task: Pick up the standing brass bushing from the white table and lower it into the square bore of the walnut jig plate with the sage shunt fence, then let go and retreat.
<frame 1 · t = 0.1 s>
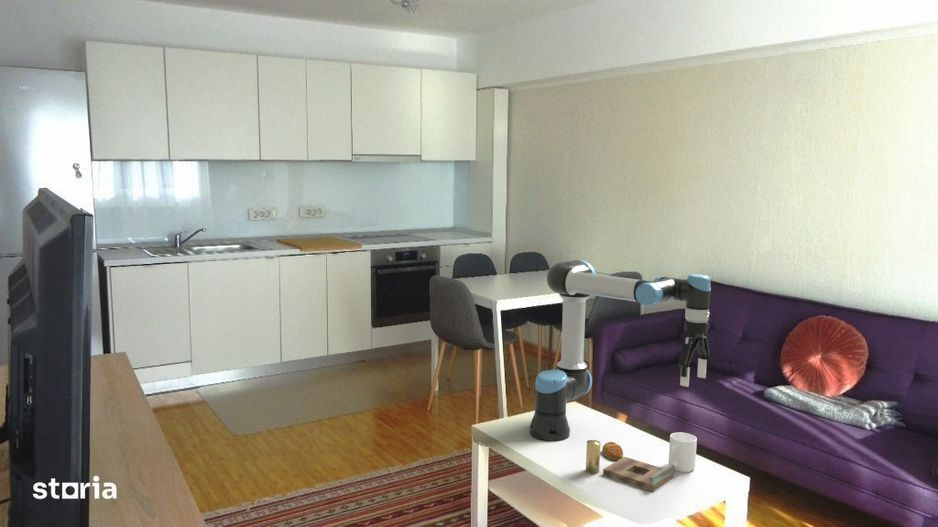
hand: (693, 381, 243), 28 cm above the table, fingers open, 13 cm apart
jig: (638, 476, 233), on the table
pastry: (613, 456, 250), on the table
bushing: (592, 471, 236), on the table
mug: (678, 469, 239), on the table
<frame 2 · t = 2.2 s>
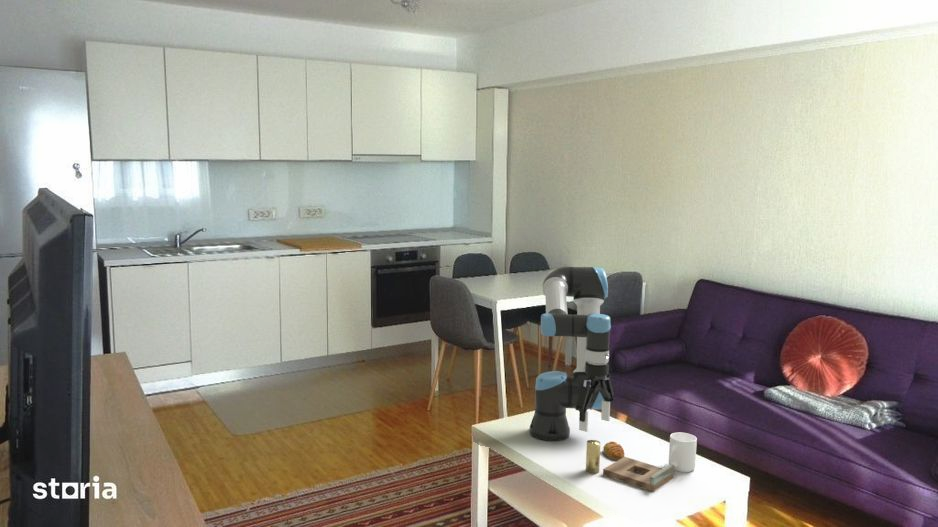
hand: (594, 425, 234), 16 cm above the table, fingers open, 13 cm apart
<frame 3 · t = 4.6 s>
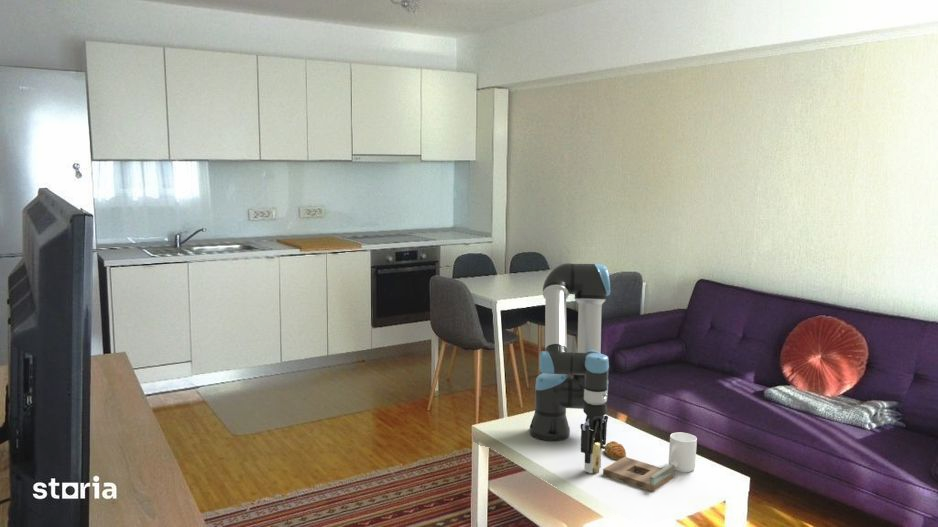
hand: (592, 469, 236), 1 cm above the table, fingers closed on bushing, 4 cm apart
bushing: (592, 471, 236), on the table, touching gripper
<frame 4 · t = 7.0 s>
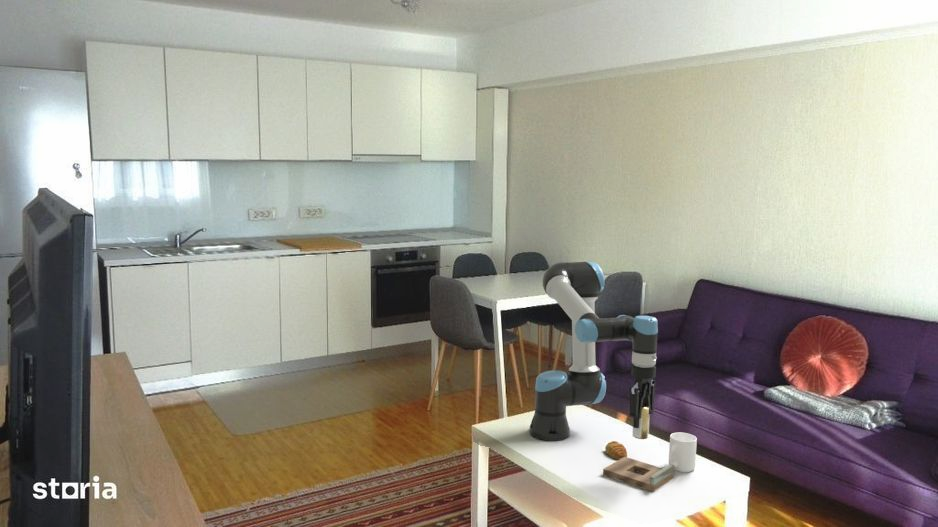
hand: (640, 434, 231), 14 cm above the table, fingers closed on bushing, 4 cm apart
bushing: (640, 436, 231), point 14 cm above the table, touching gripper
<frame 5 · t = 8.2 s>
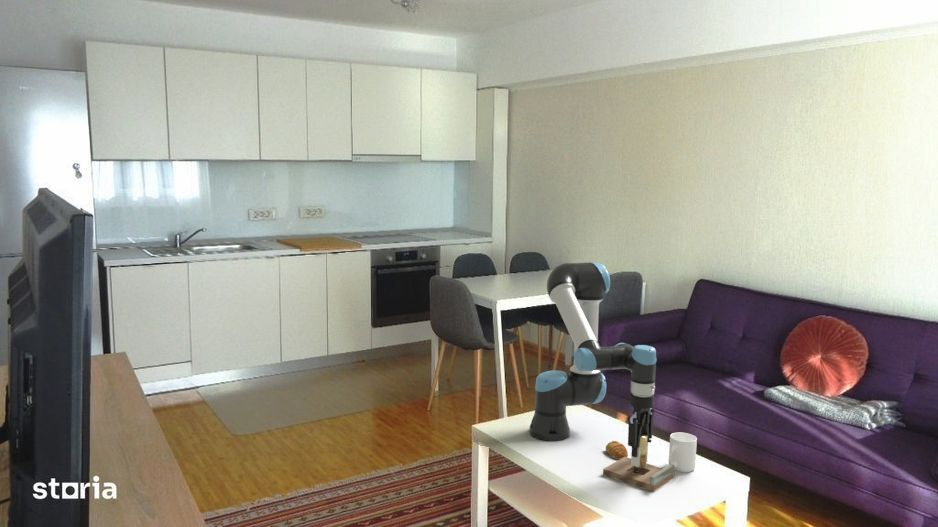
hand: (639, 463, 232), 5 cm above the table, fingers closed on bushing, 4 cm apart
bushing: (639, 465, 232), point 4 cm above the table, touching gripper
when the fingers open (3 cm above the table, at t = 9.4 s): bushing drops 2 cm, resting in jig.
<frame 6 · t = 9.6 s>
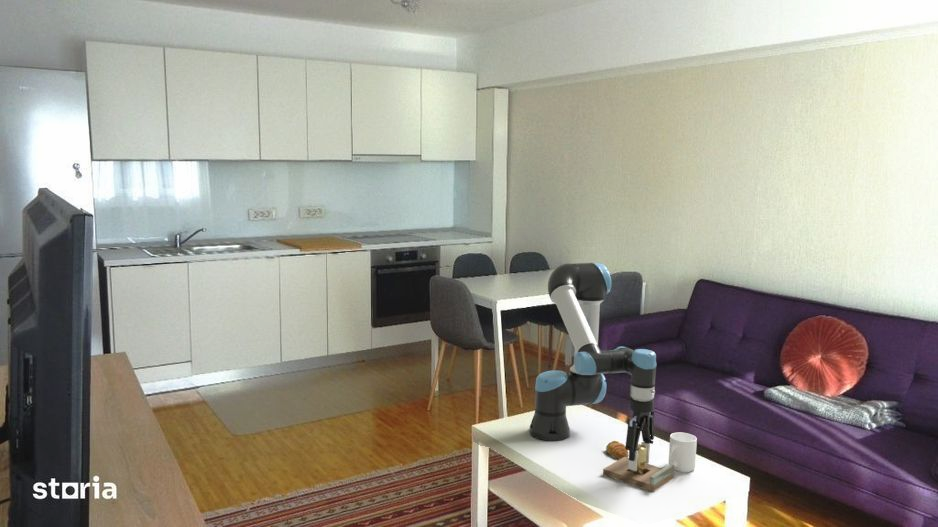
hand: (638, 465, 232), 4 cm above the table, fingers open, 7 cm apart
bushing: (638, 476, 233), resting in jig
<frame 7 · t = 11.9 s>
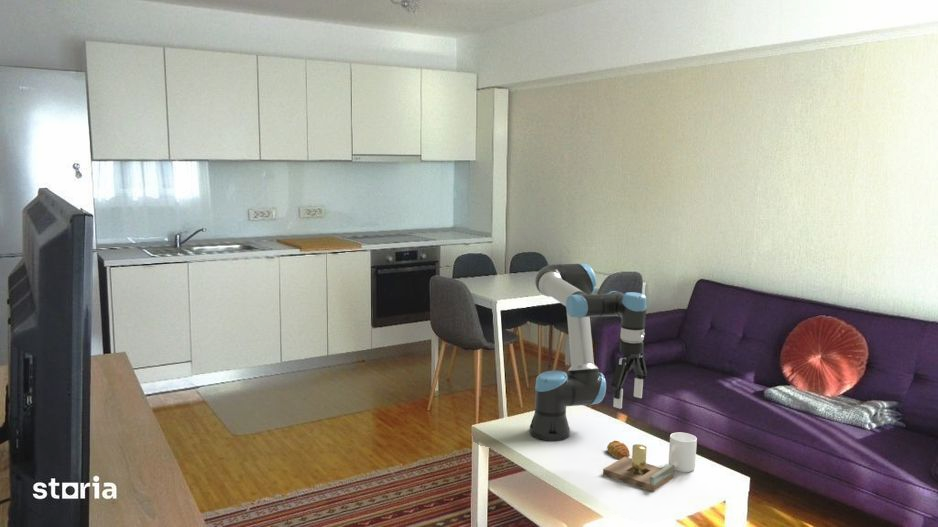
hand: (627, 402, 236), 23 cm above the table, fingers open, 13 cm apart
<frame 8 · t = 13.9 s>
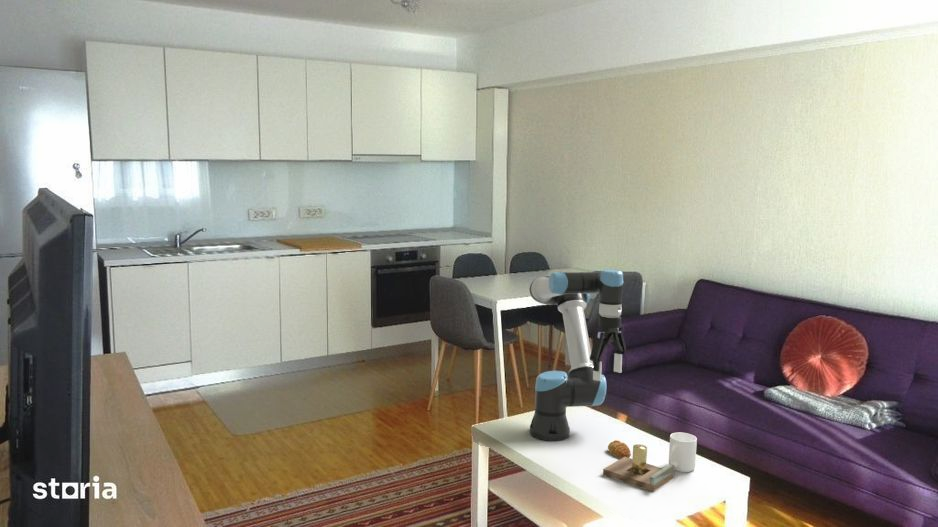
hand: (607, 376, 245), 29 cm above the table, fingers open, 13 cm apart
at the end: bushing 0.1 cm off-centre on the jig, point 0.0 cm above the jig's base; bushing tilted 1°; the gripper is holding nothing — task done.
